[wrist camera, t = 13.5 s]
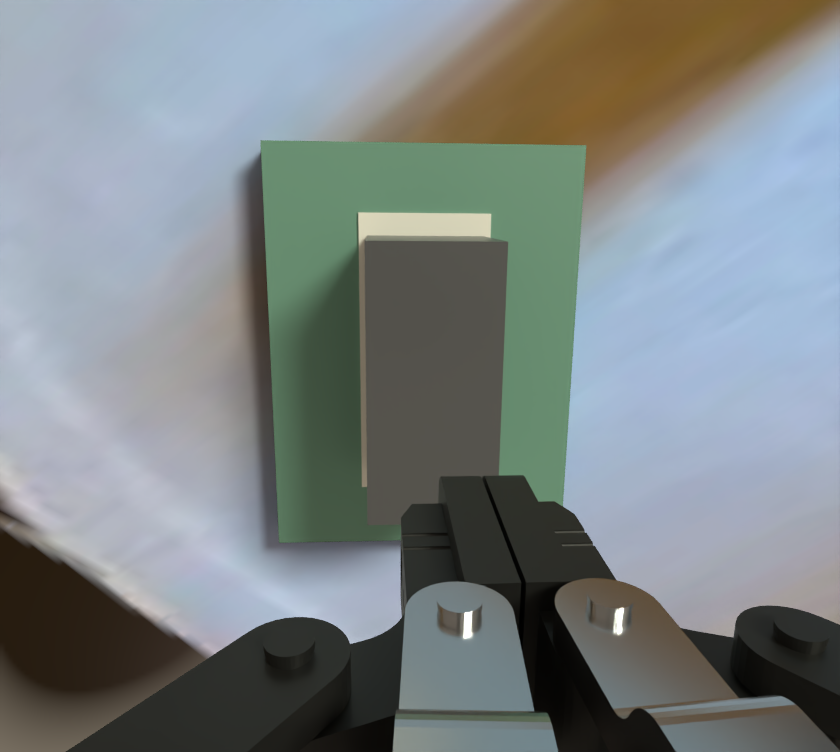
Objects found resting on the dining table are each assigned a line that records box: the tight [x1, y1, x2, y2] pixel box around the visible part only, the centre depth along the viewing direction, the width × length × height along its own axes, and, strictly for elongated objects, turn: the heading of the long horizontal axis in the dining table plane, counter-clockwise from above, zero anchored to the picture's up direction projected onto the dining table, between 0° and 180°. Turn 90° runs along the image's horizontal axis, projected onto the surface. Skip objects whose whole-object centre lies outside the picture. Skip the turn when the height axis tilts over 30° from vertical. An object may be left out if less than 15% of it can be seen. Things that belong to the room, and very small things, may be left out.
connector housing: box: [364, 235, 508, 525], centre depth 24 cm, size 9×4×5 cm, turn 0°
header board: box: [261, 140, 586, 543], centre depth 25 cm, size 16×12×5 cm
